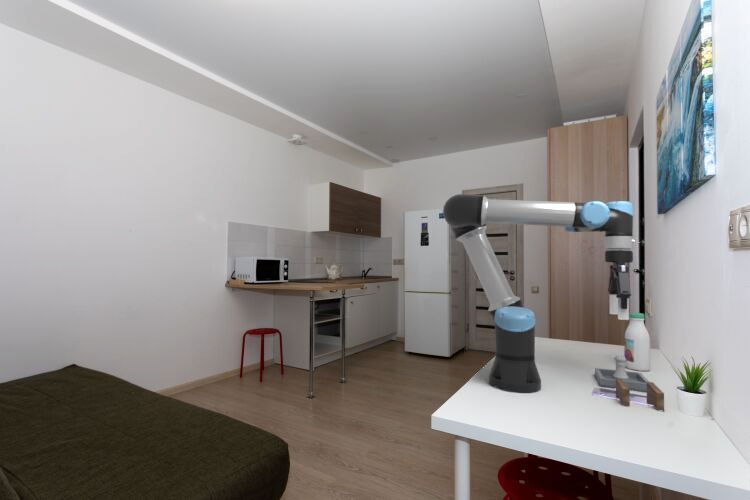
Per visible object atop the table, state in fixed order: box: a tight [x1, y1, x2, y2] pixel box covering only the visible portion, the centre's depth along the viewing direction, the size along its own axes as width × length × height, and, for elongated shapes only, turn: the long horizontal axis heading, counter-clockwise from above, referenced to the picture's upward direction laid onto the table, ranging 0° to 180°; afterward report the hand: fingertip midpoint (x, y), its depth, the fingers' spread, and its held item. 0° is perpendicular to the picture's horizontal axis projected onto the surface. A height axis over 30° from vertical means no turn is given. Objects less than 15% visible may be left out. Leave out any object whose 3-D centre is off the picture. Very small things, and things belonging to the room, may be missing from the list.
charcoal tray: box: [594, 367, 650, 393], centre depth 119 cm, size 13×13×2 cm
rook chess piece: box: [613, 354, 629, 381], centre depth 119 cm, size 4×4×8 cm
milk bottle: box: [623, 312, 651, 372], centre depth 137 cm, size 8×8×20 cm
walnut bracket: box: [615, 378, 665, 412], centre depth 103 cm, size 9×10×4 cm
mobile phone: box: [590, 387, 654, 407], centre depth 107 cm, size 8×1×15 cm
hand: (618, 316), depth 120 cm, fingers open, 13 cm apart
